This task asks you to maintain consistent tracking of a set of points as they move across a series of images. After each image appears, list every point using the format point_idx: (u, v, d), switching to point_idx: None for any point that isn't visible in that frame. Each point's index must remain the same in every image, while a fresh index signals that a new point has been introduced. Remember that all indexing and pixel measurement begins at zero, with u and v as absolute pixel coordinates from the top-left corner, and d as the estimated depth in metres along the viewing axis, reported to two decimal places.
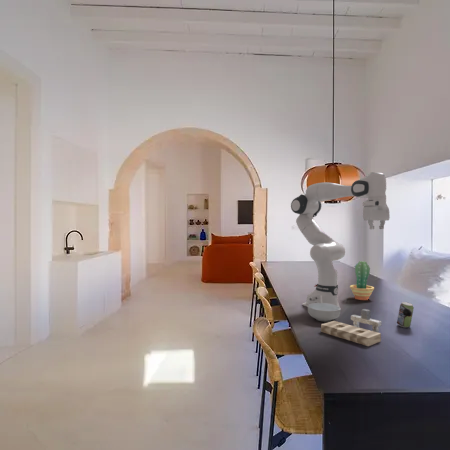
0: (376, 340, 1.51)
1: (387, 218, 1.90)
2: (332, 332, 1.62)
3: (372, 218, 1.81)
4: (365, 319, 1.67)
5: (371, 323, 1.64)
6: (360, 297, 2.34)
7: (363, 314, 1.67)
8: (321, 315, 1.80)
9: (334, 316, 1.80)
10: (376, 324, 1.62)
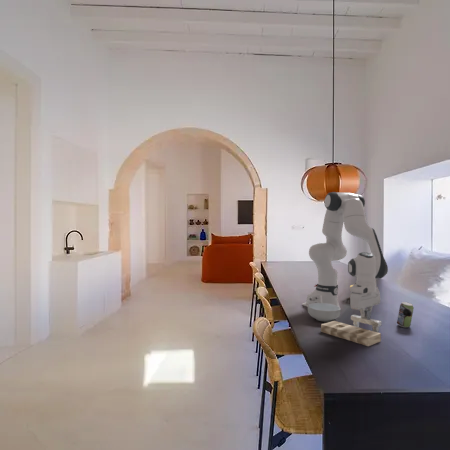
0: (376, 340, 1.51)
1: (377, 302, 1.71)
2: (332, 332, 1.62)
3: (360, 307, 1.62)
4: (365, 319, 1.67)
5: (371, 323, 1.64)
6: None
7: None
8: (321, 315, 1.80)
9: (334, 316, 1.80)
10: (376, 324, 1.62)
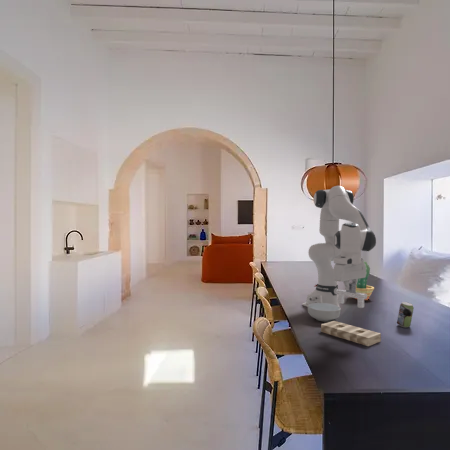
0: (376, 340, 1.51)
1: (363, 275, 1.63)
2: (332, 332, 1.62)
3: (344, 279, 1.54)
4: (350, 292, 1.58)
5: (356, 296, 1.56)
6: None
7: None
8: (321, 315, 1.80)
9: (334, 316, 1.80)
10: (361, 297, 1.54)
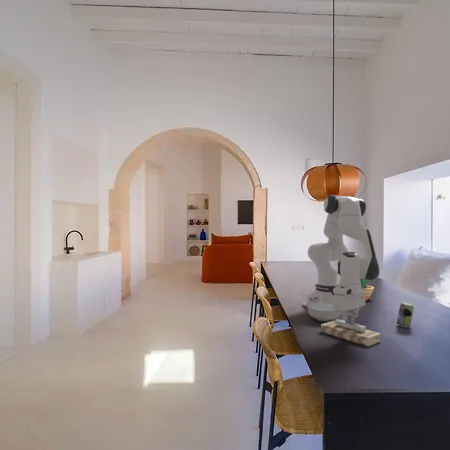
0: (376, 340, 1.51)
1: (362, 304, 1.63)
2: (332, 332, 1.62)
3: (343, 309, 1.54)
4: (349, 324, 1.59)
5: (355, 328, 1.56)
6: None
7: (347, 318, 1.60)
8: (321, 315, 1.80)
9: (334, 316, 1.80)
10: (360, 329, 1.54)
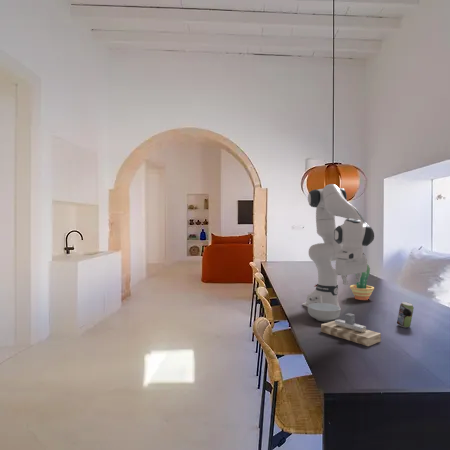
0: (376, 340, 1.51)
1: (364, 270, 1.67)
2: (332, 332, 1.62)
3: (345, 273, 1.59)
4: (349, 324, 1.59)
5: (355, 328, 1.56)
6: (360, 297, 2.34)
7: (347, 319, 1.59)
8: (321, 315, 1.80)
9: (334, 316, 1.80)
10: (360, 329, 1.54)
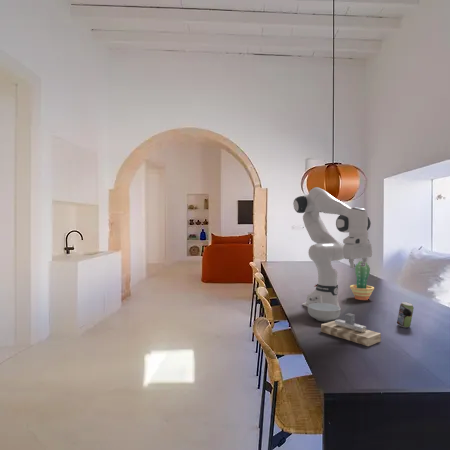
0: (376, 340, 1.51)
1: (369, 255, 1.81)
2: (332, 332, 1.62)
3: (352, 257, 1.72)
4: (349, 324, 1.59)
5: (355, 328, 1.56)
6: (360, 297, 2.34)
7: (347, 319, 1.59)
8: (321, 315, 1.80)
9: (334, 316, 1.80)
10: (360, 329, 1.54)
